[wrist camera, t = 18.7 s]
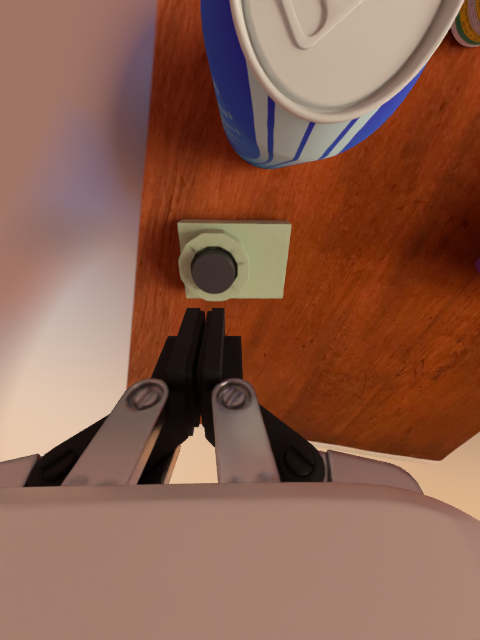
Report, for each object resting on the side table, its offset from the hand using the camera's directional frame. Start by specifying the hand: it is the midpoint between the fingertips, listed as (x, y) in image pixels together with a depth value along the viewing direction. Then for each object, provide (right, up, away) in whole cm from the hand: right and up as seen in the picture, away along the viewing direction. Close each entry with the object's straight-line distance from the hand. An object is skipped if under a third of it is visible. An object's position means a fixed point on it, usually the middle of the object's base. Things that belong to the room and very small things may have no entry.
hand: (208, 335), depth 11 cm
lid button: (-1, +6, +12) cm, 13 cm away
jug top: (+1, +8, +15) cm, 17 cm away
